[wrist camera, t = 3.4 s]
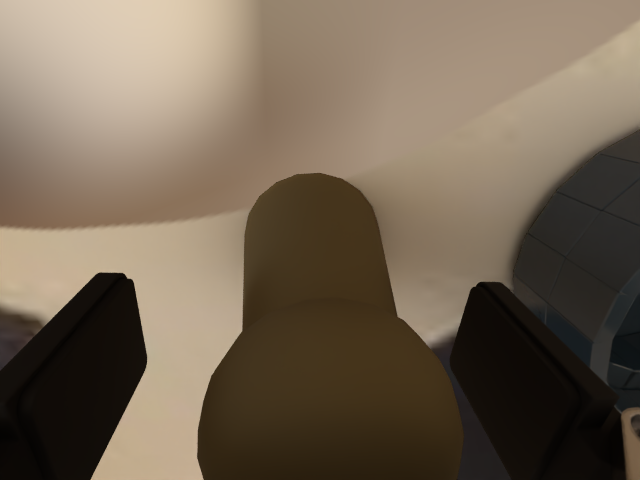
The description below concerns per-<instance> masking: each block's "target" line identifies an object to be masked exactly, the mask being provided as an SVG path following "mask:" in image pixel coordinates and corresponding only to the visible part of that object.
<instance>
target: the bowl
mask: <svg viewBox="0 0 640 480" xmlns="http://www.w3.org/2000/svg"><path fill="white" fill-rule="evenodd" d="M513 272H514V274H513V294H514V295H515V296H516V297H517V298H518V299H519V300H520V301H521V302H522V303H523V304H524V305H525V306H526V307H527V308H528V309H529V310H530V311H532V312H533V313H534V314H535V315H536V316H537V317H538V318H539V319H540V320H541V321H542V322H543V323H544V324H545V325H546V326H547V327H548V328H549V329H550V330H551V331H552V332H553V333H554V334H555V335H556V336H557V337H558V338H559V339H560V340H561V341H562V342H563V343H564V344H565V345H567V346H568V347H569V348H570V349H571V350H572V351H573V352H574V353H575V354H576V355H577V356H578V357H579V358H580V359H581V360H582V361H583V362H584V363H585V364H586V365H587V366H588V367H589V368H590V369H591V370H592V371H593V372H594V373H595V374H596V375H597V376H598V377H599V378H600V379H602V380H603V381H604V382H605V383H606V384H607V385H608V386H609V387H610V388H611V389H612V390H613V391H614V392H615V393H616V394H617V395H618V396H619V397H620V398H619V400H618V401H617V403H616V404H615V406H614V407H615V408H616V409H617V410H618V411H619V412H620V413H622V412H623V411H624V410H626V409H627V408H634V407H638V408H640V130H639V131H637V132H635V133H633V134H632V135H630V136H628V137H626V138H624V139H622V140H621V141H619V142H617V143H615V144H613V145H612V146H610V147H608V148H606V149H604V150H603V151H601V152H599V153H598V154H596V155H595V156H594V157H593V158H592V159H591V160H590V161H588V162H587V163H586V164H585V165H584V166H583V167H582V168H581V169H580V170H578V171H577V172H576V173H575V174H574V175H573V176H572V177H571V178H570V179H568V180H567V181H566V182H565V183H564V184H563V185H562V186H561V187H559V188H558V189H557V190H556V192H555V193H554V195H553V196H552V198H551V199H550V200H549V202H548V203H547V205H546V206H545V208H544V209H543V211H542V212H541V213H540V215H539V216H538V218H537V219H536V221H535V222H534V224H533V225H532V226H531V228H530V229H529V231H528V233H527V234H526V236H525V239H524V242H523V245H522V248H521V251H520V254H519V257H518V259H517V262H516V265H515V268H514V271H513Z"/></svg>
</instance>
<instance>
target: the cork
mask: <svg viewBox="0 0 640 480" xmlns="http://www.w3.org/2000/svg"><path fill="white" fill-rule="evenodd" d="M463 440H464V432H463V427H462V422H461V418H460V413H459V408H458V405H457V401H456V398H455V394H454V391H453V387H452V384H451V381H450V379H449V377H448V375H447V373H446V371H445V369H444V368H443V366H442V364H441V362H440V360H439V358H438V357H437V356H436V355H435V354H434V353H433V351H432V350H431V349H430V348H429V347H428V346H427V345H426V343H425V342H424V341H423V340H422V339H421V338H420V336H419V335H418V334H417V333H416V332H415V331H414V330H413V329H412V328H411V327H410V326H409V325H408V324H407V323H406V322H405V321H404V320H402V319H400V318H398V316H397V312H396V307H395V302H394V297H393V293H392V288H391V283H390V279H389V274H388V269H387V264H386V260H385V255H384V250H383V245H382V241H381V236H380V231H379V227H378V223H377V220H376V217H375V214H374V211H373V208H372V206H371V204H370V203H369V202H368V201H367V199H366V198H365V197H364V195H363V194H362V193H361V192H360V190H358V189H357V188H355V187H354V186H352V185H351V184H349V183H348V182H346V181H344V180H343V179H341V178H337V177H333V176H329V175H326V174H322V173H313V174H297V175H294V176H292V177H289V178H287V179H284V180H281V181H279V182H276V183H275V184H274V185H273V186H271V187H270V188H269V189H268V190H267V191H265V192H264V193H263V194H262V195H261V196H259V198H258V200H257V202H256V203H255V205H254V206H253V208H252V209H251V211H250V213H249V215H248V220H247V225H246V230H245V244H244V287H243V330H242V332H241V334H240V335H239V336H238V338H237V339H236V341H235V342H234V344H233V345H232V346H231V348H230V349H229V351H228V352H227V354H226V355H225V357H224V358H223V359H222V361H221V362H220V364H219V365H218V367H217V368H216V370H215V371H214V373H213V374H212V376H211V379H210V382H209V385H208V388H207V392H206V395H205V398H204V401H203V406H202V412H201V417H200V422H199V427H198V452H197V459H198V462H199V465H200V469H201V472H202V475H203V479H204V480H457V477H458V472H459V467H460V461H461V454H462V447H463Z"/></svg>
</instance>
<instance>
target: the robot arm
mask: <svg viewBox="0 0 640 480" xmlns="http://www.w3.org/2000/svg"><path fill="white" fill-rule="evenodd" d="M146 365H147V354H146V348H145V342H144V337H143V331H142V326H141V320H140V315H139V309H138V303H137V298H136V292H135V287H134V282H133V280H132V279H127V277H126V275H125V274H123V273H98V274H96V275H95V276H94V277H93V278H92V279H91V280H90V281H89V282H88V283H87V284H86V285H85V286H84V287H83V288H82V289H81V290H80V291H79V292H78V293H77V294H76V295H75V296H74V297H73V298H72V299H71V300H70V301H69V302H68V303H67V304H66V305H65V306H64V307H63V308H62V309H61V310H60V311H59V312H58V313H57V314H56V315H55V316H54V317H53V318H52V319H51V320H50V321H49V322H48V323H47V324H46V325H45V326H44V327H43V328H42V329H41V330H40V331H39V332H38V333H37V334H36V335H35V336H34V337H33V338H32V339H31V340H30V341H29V342H28V343H27V345H26V346H25V347H24V348H23V349H22V350H21V351H20V352H19V353H18V354H17V355H16V356H15V357H14V358H13V359H12V360H11V361H10V362H9V363H8V364H7V365H6V366H5V367H4V368H3V369H2V370H1V371H0V480H90V479H91V477H92V475H93V473H94V471H95V469H96V467H97V465H98V463H99V461H100V459H101V457H102V455H103V453H104V451H105V449H106V447H107V445H108V443H109V441H110V439H111V437H112V435H113V433H114V431H115V429H116V427H117V425H118V423H119V421H120V419H121V417H122V415H123V413H124V412H125V410H126V408H127V406H128V404H129V402H130V400H131V398H132V396H133V394H134V392H135V390H136V388H137V386H138V384H139V382H140V380H141V378H142V376H143V374H144V371H145V369H146ZM450 367H451V370H452V372H453V374H454V375H455V377H456V379H457V381H458V383H459V385H460V386H461V388H462V390H463V392H464V394H465V396H466V397H467V399H468V401H469V403H470V405H471V406H472V408H473V410H474V412H475V414H476V416H477V417H478V419H479V421H480V423H481V425H482V427H483V428H484V430H485V432H486V434H487V436H488V437H489V439H490V441H491V443H492V445H493V447H494V448H495V450H496V452H497V454H498V456H499V457H500V459H501V461H502V463H503V465H504V467H505V468H506V470H507V472H508V474H509V476H510V478H511V479H512V480H640V408H638V407H634V408H627V409H626V410H624V411H623V412H622V413H620V412H619V411H618V410H617V409H616V408H615V407H614V406H615V404H616V403H617V401H618V400H619V398H620V397H619V396H618V395H617V394H616V393H615V392H614V391H613V390H612V389H611V388H610V387H609V386H608V385H607V384H606V383H605V382H604V381H603V380H602V379H600V378H599V377H598V376H597V375H596V374H595V373H594V372H593V371H592V370H591V369H590V368H589V367H588V366H587V365H586V364H585V363H584V362H583V361H582V360H581V359H580V358H579V357H578V356H577V355H576V354H575V353H574V352H573V351H572V350H571V349H570V348H569V347H568V346H567V345H565V344H564V343H563V342H562V341H561V340H560V339H559V338H558V337H557V336H556V335H555V334H554V333H553V332H552V331H551V330H550V329H549V328H548V327H547V326H546V325H545V324H544V323H543V322H542V321H541V320H540V319H539V318H538V317H537V316H536V315H535V314H534V313H533V312H532V311H530V310H529V309H528V308H527V307H526V306H525V305H524V304H523V303H522V302H521V301H520V300H519V299H518V298H517V297H516V296H515V295H514V294H513V293H512V292H511V291H510V290H509V289H508V288H507V287H506V286H505V285H504V284H502V283H500V282H479V283H478V284H477V285H476V287H473V288H472V289H471V290H470V293H469V297H468V300H467V303H466V306H465V310H464V313H463V316H462V319H461V323H460V326H459V329H458V333H457V336H456V339H455V342H454V346H453V349H452V352H451V356H450Z"/></svg>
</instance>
